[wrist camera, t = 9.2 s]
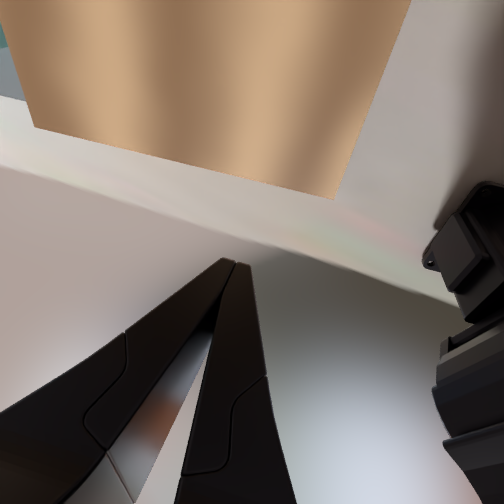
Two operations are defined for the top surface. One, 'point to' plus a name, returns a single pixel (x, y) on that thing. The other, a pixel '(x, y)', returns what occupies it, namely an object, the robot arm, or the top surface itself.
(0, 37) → the teal tile
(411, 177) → the top surface
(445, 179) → the top surface
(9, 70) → the slate mat
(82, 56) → the oak deck
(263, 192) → the top surface
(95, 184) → the top surface
